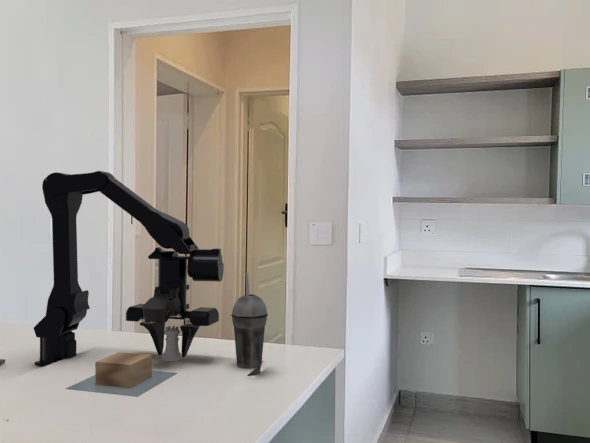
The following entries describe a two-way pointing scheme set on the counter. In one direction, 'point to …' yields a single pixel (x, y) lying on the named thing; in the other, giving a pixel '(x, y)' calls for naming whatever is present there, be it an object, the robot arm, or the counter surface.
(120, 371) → the base brick
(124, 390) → the build plate
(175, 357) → the rook chess piece
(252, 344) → the beverage cup
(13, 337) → the counter surface
